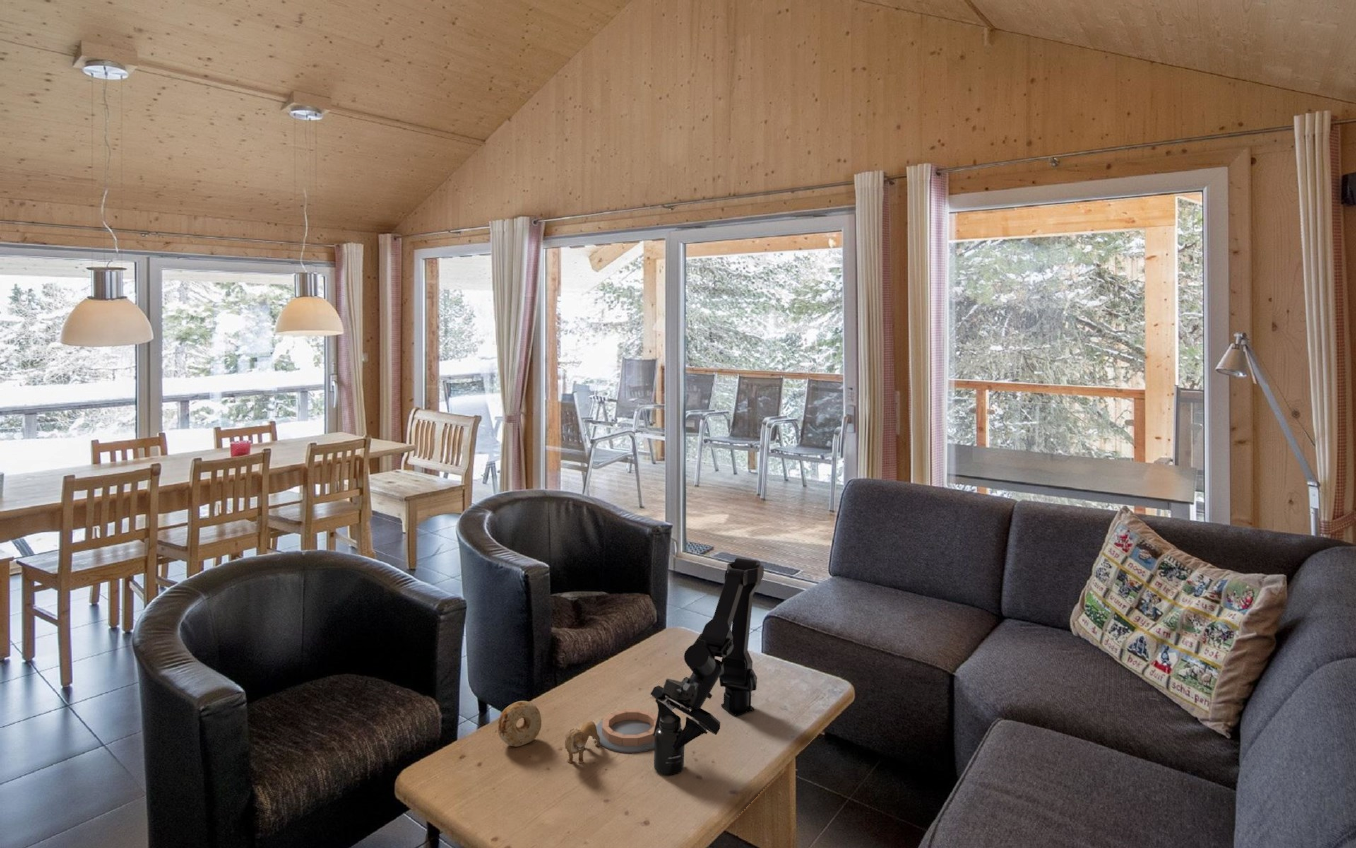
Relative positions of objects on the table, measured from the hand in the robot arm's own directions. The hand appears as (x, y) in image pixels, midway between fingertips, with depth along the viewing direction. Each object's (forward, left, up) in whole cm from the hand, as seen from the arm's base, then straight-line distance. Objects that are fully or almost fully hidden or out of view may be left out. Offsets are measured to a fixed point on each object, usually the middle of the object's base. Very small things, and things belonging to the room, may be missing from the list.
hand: (664, 743), depth 180 cm
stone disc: (+24, -27, -7) cm, 37 cm away
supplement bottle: (-1, 0, -7) cm, 7 cm away
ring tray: (-1, -18, -7) cm, 19 cm away
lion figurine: (+13, -15, -7) cm, 21 cm away
